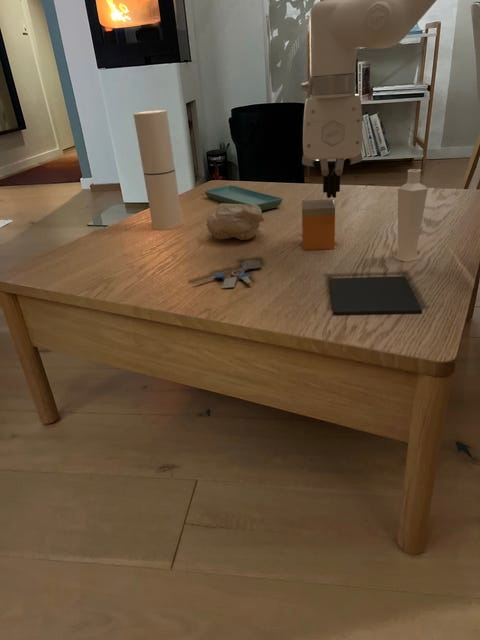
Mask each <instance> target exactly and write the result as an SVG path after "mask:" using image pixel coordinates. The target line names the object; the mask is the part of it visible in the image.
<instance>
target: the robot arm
mask: <svg viewBox="0 0 480 640" xmlns="http://www.w3.org/2000/svg"><path fill="white" fill-rule="evenodd" d="M436 2H437V0H320V1H317V2H316V3H314V4H313V5H312V6H311V7H310V10H309V79H308V80H306V81H302V82H301V91H302V92H304V91H305V92H307V93H309V94H310V95H309V97H307V98H306V99H305V103H304V110H303V120H302V121H303V123H302V150H303V152H302V153H303V154H302V159H301V164H302V165H303V166H307V167H312V168H313V167H314V168H315V169H316V170H317V171H318V172H319V173H320V174H321V175H322V192H323V193H322V194H326V198H327V199H331V198H332V199H336V198H337V193H340V192H341V175H342V174H343V172H344V171H345V170H346V169H347V168H348V167H349V166H350V165H354V164H357V163H360V162H362V161H363V153H362V152H363V151H362V150H363V110H362V109H363V108H362V107H363V106H362V100H361V94H358V93H356V82H357V81H356V79H357V76H356V75H357V48H359V49H360V48H361V49H362V48H364V49H375V50H379V49H380V50H382V49H389V48H392V47H394V46H397V45H398V44H399V43H401V42H402V41H403V40H404V39H405V38H406V37H407V35H408V34H409V33H410V32H411V31H412V30H413V29H414V28H415V26H416V25H417V24H418V23H419V22H420V21H421V20H422V18H423V17H424V16H425V15H426V14H427V12H429V10H430V9H431V8H432V7H433V5H434V4H435V3H436ZM328 160H335V162H334V169H333V170H332V173H331V170H330V169H329V164H328V163H329V162H328Z"/></svg>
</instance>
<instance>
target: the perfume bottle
mask: <svg viewBox="0 0 480 640" xmlns="http://www.w3.org/2000/svg"><path fill="white" fill-rule="evenodd" d="M421 173H422V170H421V169H420V168H410V169H408V170H407V181H406V182H405V183H404V184H403V185H401V186H400V187H398V188H397V251H396V252H395V256H394V260H395V259H396V260H397V261H398V260H399V261H402V262H404V263H407V262H413V261H418V260H419V256H418V251H417V250H418V245H419V239H420V234H421V227H422V223H423V217H424V211H425V205H426V202H427V201H426V200H427V195H428V190H429V187H426V186H425V185H424V184H422V183H421V182H420V180H421Z"/></svg>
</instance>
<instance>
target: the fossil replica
mask: <svg viewBox="0 0 480 640" xmlns="http://www.w3.org/2000/svg"><path fill="white" fill-rule="evenodd" d="M264 221H265V217H264V216H263V211H261V208H260V207H259V206H257V205H246V204H226V203H219V205H218V206H217V208H216V210H215V212H214V213H212V214H210V215H209V217H207V220H206V226H207V227H206V229H207V230H208V232H209V234H211V236H212V237H214V238H215V239H219V240H221V241H222V240H229V239H232V238H235V239H237V240H240V241H244V240H245V241H247V240H250V239H252V238H253V237H255V236H256V234H257V232H258V229H260V223H261V222H264Z"/></svg>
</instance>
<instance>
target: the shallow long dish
mask: <svg viewBox="0 0 480 640" xmlns="http://www.w3.org/2000/svg"><path fill="white" fill-rule="evenodd" d="M203 192H204V194H205V196H207V197H208V198H209V199H211V200H214V201H217V202H220V203H222V204H246V205H257V206H259V207H260V208H261V211H262V212H263V211H267V210H271V209H275V208H279V206H280V205H281V203H282V202H283V199H284V198H283V197H279V196H275V195H272V194H267V193H263V192H259V191H255V190H252V189H248V188H244V187H241V186H237V185H233V184H228V185H224V186H219V187H213V188H210V189H205V190H204V191H203Z"/></svg>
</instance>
